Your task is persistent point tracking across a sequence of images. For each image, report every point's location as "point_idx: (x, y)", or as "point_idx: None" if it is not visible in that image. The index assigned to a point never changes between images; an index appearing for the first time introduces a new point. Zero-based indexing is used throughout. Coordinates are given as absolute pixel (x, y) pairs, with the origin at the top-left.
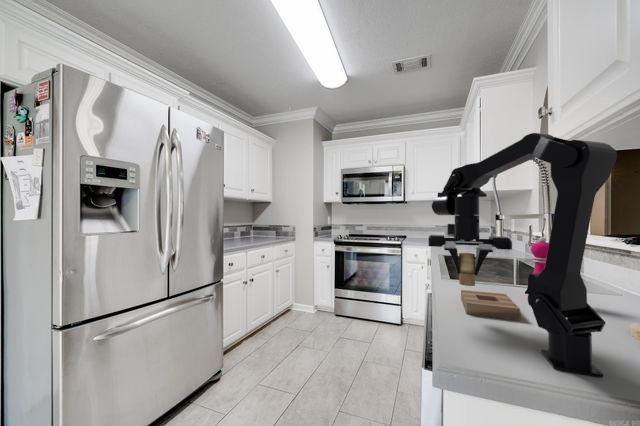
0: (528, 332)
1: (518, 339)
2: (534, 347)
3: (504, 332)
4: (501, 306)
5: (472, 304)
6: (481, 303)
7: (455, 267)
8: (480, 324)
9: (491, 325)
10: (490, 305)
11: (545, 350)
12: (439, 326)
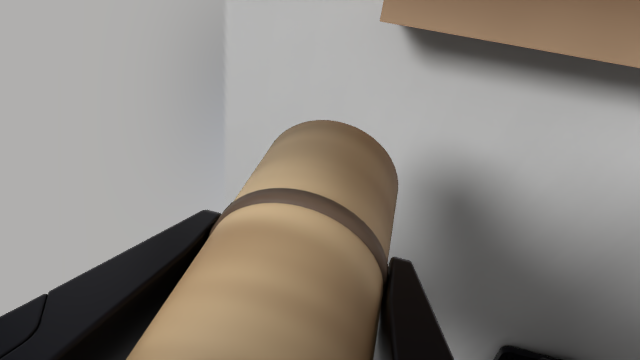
0: (602, 219)
1: (494, 275)
2: (509, 319)
3: (477, 227)
4: (638, 64)
5: (423, 25)
6: (501, 13)
7: (147, 242)
8: (407, 157)
9: (459, 162)
10: (554, 50)
11: (514, 356)
12: (227, 196)
